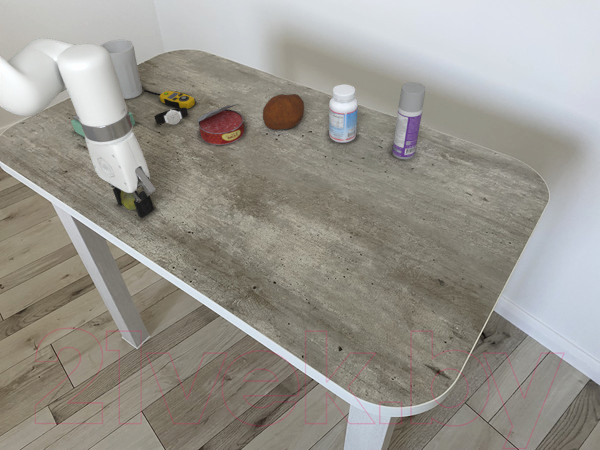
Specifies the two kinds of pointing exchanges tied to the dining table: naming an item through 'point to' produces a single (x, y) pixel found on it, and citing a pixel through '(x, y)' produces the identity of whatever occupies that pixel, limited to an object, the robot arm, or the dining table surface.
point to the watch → (171, 116)
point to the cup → (125, 66)
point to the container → (408, 120)
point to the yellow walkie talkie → (175, 99)
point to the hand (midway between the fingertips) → (136, 206)
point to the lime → (128, 200)
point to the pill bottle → (343, 114)
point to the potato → (283, 111)
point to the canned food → (221, 126)
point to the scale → (80, 131)
